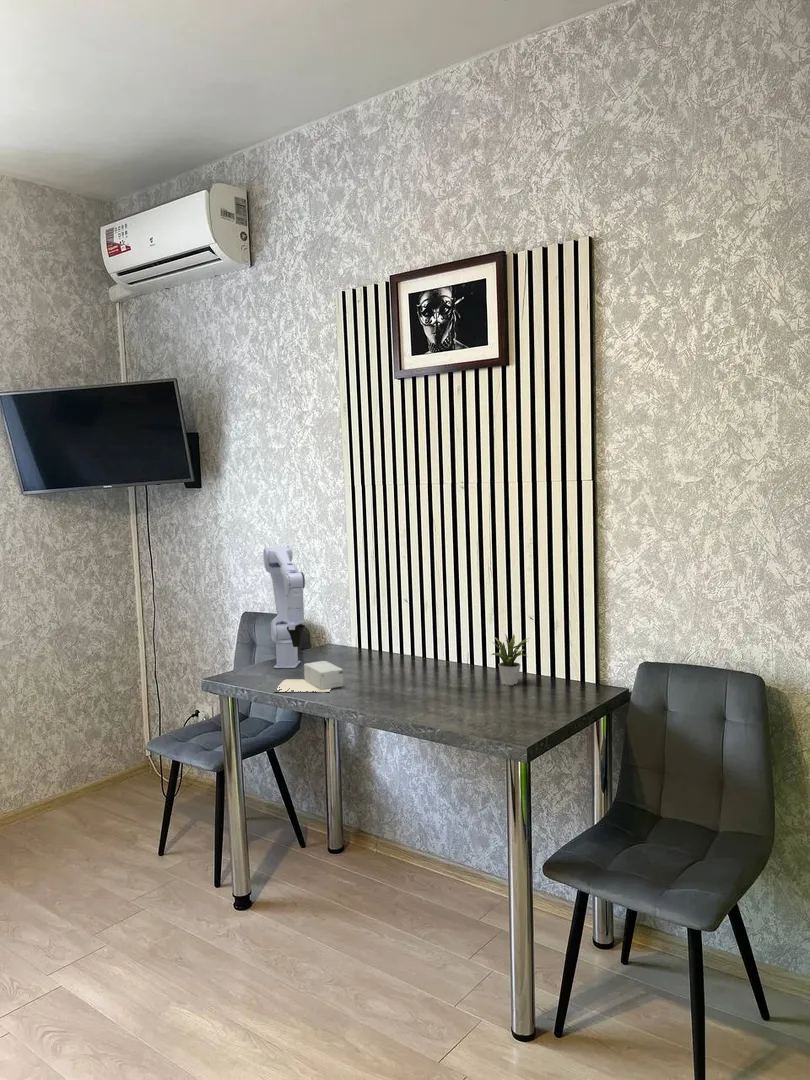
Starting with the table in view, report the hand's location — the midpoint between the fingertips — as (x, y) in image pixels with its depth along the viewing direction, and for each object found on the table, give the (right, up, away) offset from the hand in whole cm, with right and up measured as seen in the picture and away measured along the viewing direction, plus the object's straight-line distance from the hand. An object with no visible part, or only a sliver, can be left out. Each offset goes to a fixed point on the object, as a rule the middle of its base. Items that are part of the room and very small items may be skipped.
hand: (296, 646), depth 274 cm
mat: (+5, -11, -13) cm, 18 cm away
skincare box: (+7, -7, -5) cm, 11 cm away
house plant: (+72, -10, -16) cm, 74 cm away
